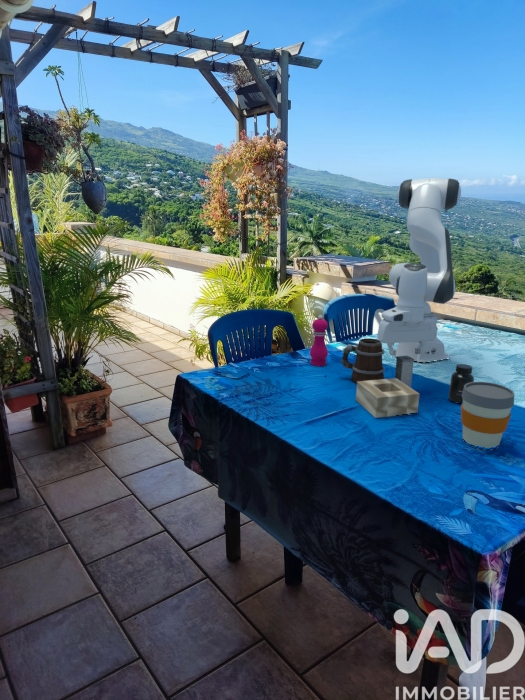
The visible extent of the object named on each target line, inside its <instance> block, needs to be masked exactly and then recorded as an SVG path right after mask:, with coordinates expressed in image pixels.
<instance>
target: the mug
mask: <svg viewBox="0 0 525 700" xmlns="http://www.w3.org/2000/svg"><path fill="white" fill-rule="evenodd" d="M357 344H358V345H355V346H354V345H353V344H348V345H347V346H345V347H344V349H343V353H342V359H340V362H341V365H342V366H343V367H344V368H345V369H346V370H348V369H351V371H352V372H351V375H350V376H351V377H350V380H351V381H352V383H355V384H356V385H357V381H368V380H380V379H385V373H384V372H385V366H383V355H384V354H385V349H384V348H383V343H382V342H380V341H379V340H378V338H377V339H376V338H366V337H365V338H360V339H359V341H358V343H357ZM353 352H354V354H355V355H356V356H355V361H354V362H353V363H352V362H350V361H349V358H348V357H349V354H350V353H353Z"/></svg>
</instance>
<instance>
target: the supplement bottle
mask: <svg viewBox="0 0 525 700" xmlns="http://www.w3.org/2000/svg"><path fill="white" fill-rule="evenodd" d="M472 373H473V366H472V365H469V364H466V363H459V364H456V365H455V371H454V372H453V373H452V374H451V377H450V383H449V389H448V396H447V397H448V398H449V399H450V400H451V401H454V402H458V403H463V398H462V392H463V389H464V385H465V384H467V383H470V382H475V377H474V375H473V374H472ZM449 399H448V400H449ZM450 400H449V401H450ZM451 401H450V402H451ZM454 402H453V403H454Z"/></svg>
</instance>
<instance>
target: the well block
mask: <svg viewBox="0 0 525 700" xmlns="http://www.w3.org/2000/svg"><path fill="white" fill-rule="evenodd" d="M355 401H357V403H358V404H360V405H361V406H362V407H363V408H364V409H365V410H366V411H368V412H369V413H370V415H372V416H373V417H374V418H375V419H376V418H378V419H379V418H388V417H396V415H399V416H403V415H402V414H408V415H411V414H410V413H417V414H418V410H419V401H420V393H419V392H418V391H416V390H414V389H413V388H412V387H411V388H410V387H409V386H407V385H406V384H404V383H403V382H401V381H400V380H398V379H397V378H395V377H393V378H384V379H380V380H368V381H357V384H356V394H355Z"/></svg>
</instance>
